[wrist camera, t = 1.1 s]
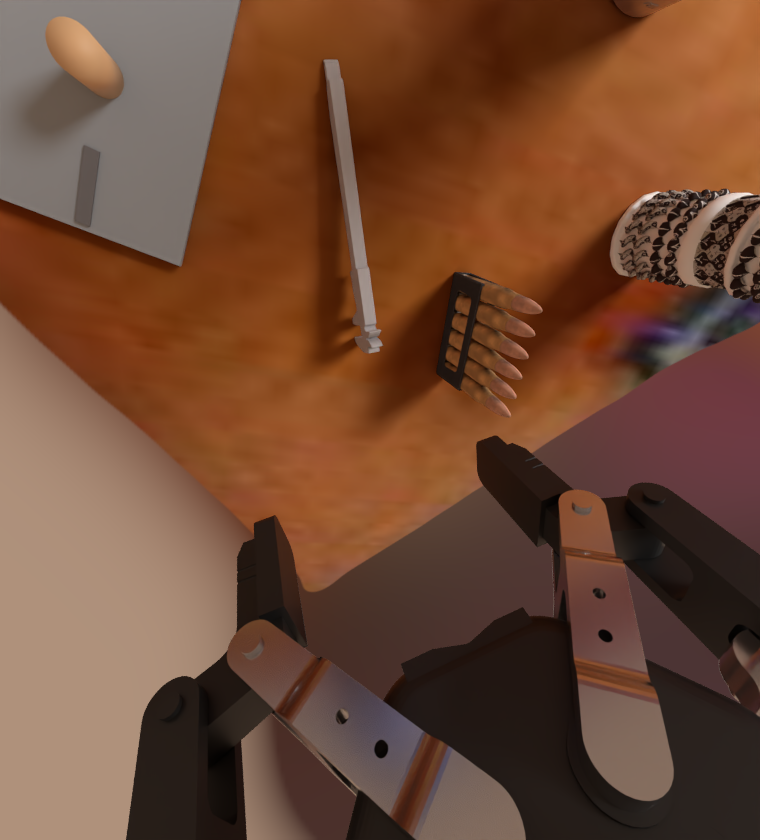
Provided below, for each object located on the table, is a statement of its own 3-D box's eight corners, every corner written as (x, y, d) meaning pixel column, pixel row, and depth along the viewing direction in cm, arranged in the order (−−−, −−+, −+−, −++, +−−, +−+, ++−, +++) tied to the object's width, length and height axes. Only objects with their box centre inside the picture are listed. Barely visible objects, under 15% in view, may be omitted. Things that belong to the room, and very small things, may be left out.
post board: (-21, -234, 17) (-117, -398, 12) (247, -28, 22) (249, -88, 18) (-31, 184, 23) (-97, 179, 18) (182, 264, 29) (171, 276, 24)
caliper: (364, 339, 37) (384, 361, 32) (353, 341, 36) (372, 363, 31) (336, 61, 26) (360, 25, 21) (321, 61, 26) (342, 25, 21)
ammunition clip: (450, 373, 42) (516, 425, 32) (435, 373, 41) (498, 427, 31) (470, 273, 37) (556, 298, 27) (454, 271, 36) (535, 297, 26)
